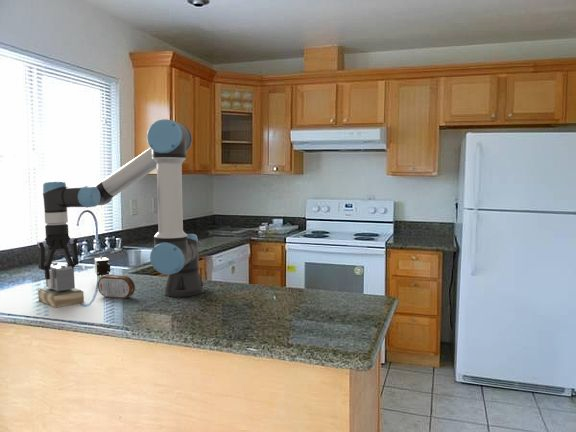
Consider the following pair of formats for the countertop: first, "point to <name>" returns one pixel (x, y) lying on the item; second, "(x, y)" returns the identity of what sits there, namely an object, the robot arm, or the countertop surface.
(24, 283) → the countertop surface
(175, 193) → the robot arm
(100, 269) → the pneumatic valve
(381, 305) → the countertop surface
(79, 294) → the stand
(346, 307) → the countertop surface
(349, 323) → the countertop surface
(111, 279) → the tin
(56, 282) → the housing
